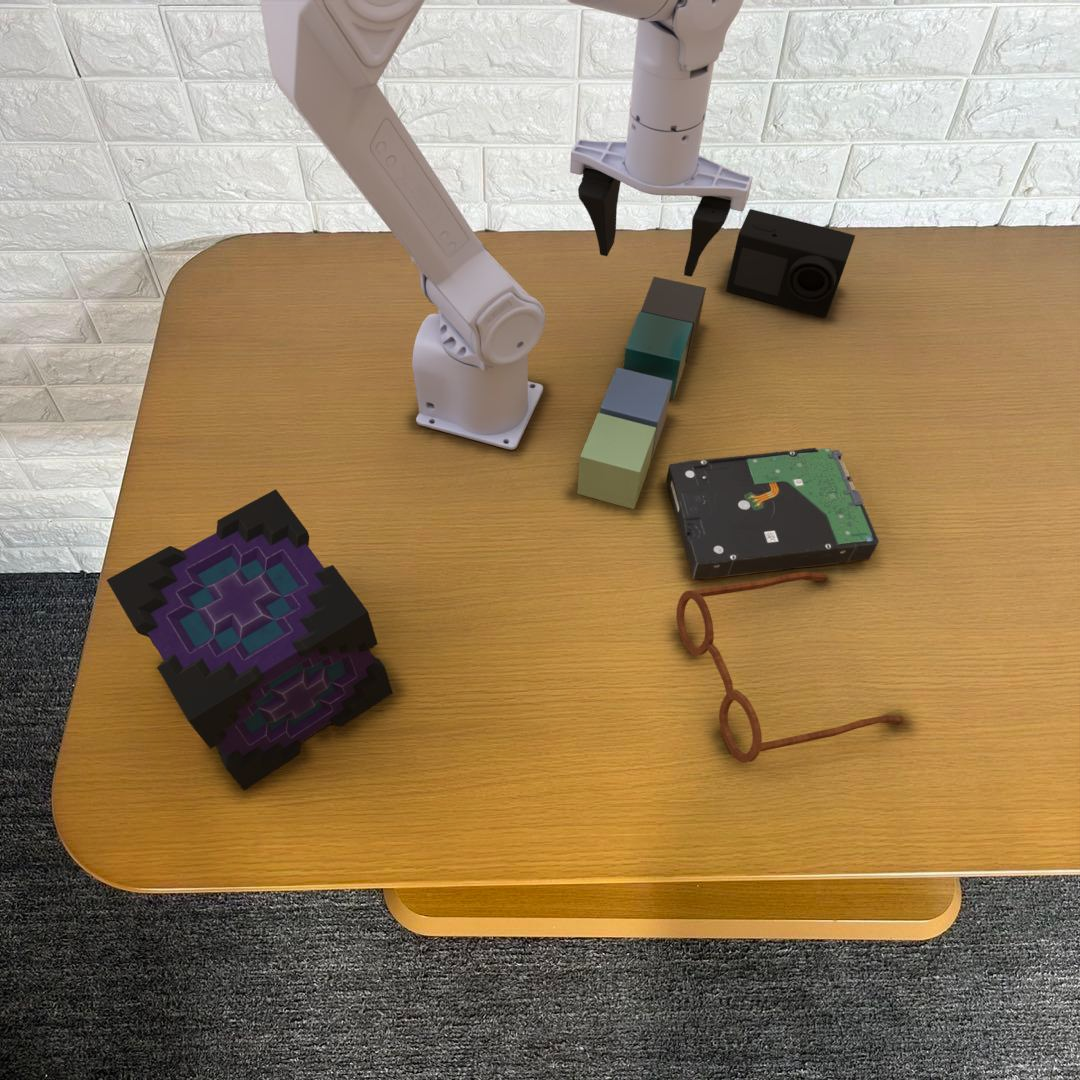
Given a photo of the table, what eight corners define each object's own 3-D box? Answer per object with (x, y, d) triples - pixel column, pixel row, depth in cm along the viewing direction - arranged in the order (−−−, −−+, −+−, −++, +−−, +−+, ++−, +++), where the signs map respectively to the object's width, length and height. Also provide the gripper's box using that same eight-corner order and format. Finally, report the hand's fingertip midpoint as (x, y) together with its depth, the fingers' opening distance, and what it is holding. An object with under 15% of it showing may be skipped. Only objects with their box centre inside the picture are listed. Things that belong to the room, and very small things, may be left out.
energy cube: (169, 664, 67) (106, 579, 57) (311, 581, 71) (275, 488, 61) (243, 790, 61) (188, 721, 52) (392, 693, 66) (368, 611, 56)
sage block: (577, 494, 76) (579, 456, 72) (594, 451, 79) (597, 412, 74) (634, 509, 75) (640, 472, 71) (649, 465, 78) (656, 427, 74)
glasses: (670, 615, 69) (679, 581, 65) (824, 576, 71) (842, 541, 67) (737, 775, 62) (751, 748, 58) (905, 726, 64) (931, 697, 60)
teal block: (620, 387, 83) (625, 347, 79) (634, 351, 86) (639, 310, 81) (673, 400, 82) (680, 360, 78) (685, 363, 85) (693, 322, 81)
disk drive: (692, 585, 71) (872, 561, 72) (697, 566, 69) (883, 541, 70) (663, 483, 77) (830, 462, 78) (666, 462, 75) (838, 441, 76)
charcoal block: (635, 351, 86) (640, 310, 81) (648, 317, 88) (653, 276, 84) (686, 363, 85) (694, 322, 81) (698, 328, 87) (706, 287, 83)
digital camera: (720, 298, 90) (733, 240, 84) (735, 265, 93) (749, 206, 87) (823, 326, 88) (844, 268, 82) (835, 292, 90) (856, 233, 85)
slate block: (596, 446, 79) (599, 407, 75) (612, 406, 82) (616, 366, 77) (651, 460, 78) (658, 422, 74) (665, 420, 81) (672, 380, 77)
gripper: (773, 102, 68) (739, 250, 80) (593, 66, 71) (585, 213, 82) (752, 153, 65) (720, 300, 76) (563, 112, 67) (559, 260, 79)
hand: (648, 258), depth 79 cm, fingers open, 7 cm apart
